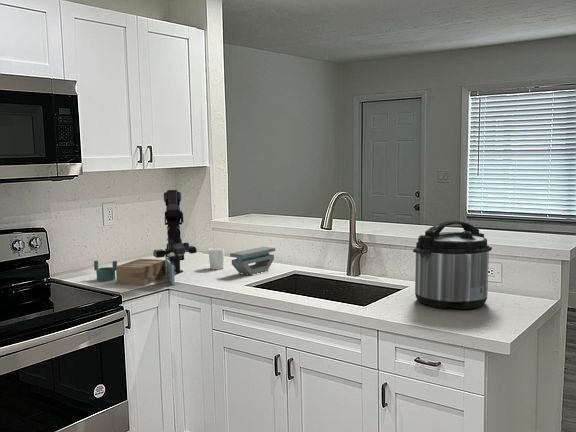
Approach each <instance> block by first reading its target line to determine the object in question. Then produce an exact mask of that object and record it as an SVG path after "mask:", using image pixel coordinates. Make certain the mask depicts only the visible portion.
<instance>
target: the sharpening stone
mask: <svg viewBox="0 0 576 432" xmlns="http://www.w3.org/2000/svg"><path fill="white" fill-rule="evenodd" d="M272 252H276V247H268V246H260V247H254V248H250V249H245V250H239V251H235V252H231V253H229V257H231V258H235V259H232V260H231V265H232V267H234V269H235V270H236V271H237V272H238V274H240V273H243V274H242V275H246V274H249V275H248V276H254V275H253V274H256V275H258V274H257V273H260V274H262V273H261V272H263V273H266V272H265V271H267V272H268V271H269V269H270V267H271V265H272V263H273V262H274V260H275V255H274V254H270V253H272Z"/></svg>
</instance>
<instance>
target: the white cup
mask: <svg viewBox="0 0 576 432" xmlns="http://www.w3.org/2000/svg"><path fill="white" fill-rule="evenodd" d="M208 259H209V269H210V268H211V269H210V270H214V269H218V270H222V269H221V268H223V269H224V263H225V248H223V247H212V248H208Z"/></svg>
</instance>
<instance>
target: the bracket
mask: <svg viewBox="0 0 576 432" xmlns="http://www.w3.org/2000/svg"><path fill="white" fill-rule="evenodd" d="M116 266H118V261H117V260H113V261H112V266H108V267H107V266H106V267H99V260H93V270H94V271H95V272H96V282H101V283H105V282H112V281H115V280H116Z"/></svg>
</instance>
